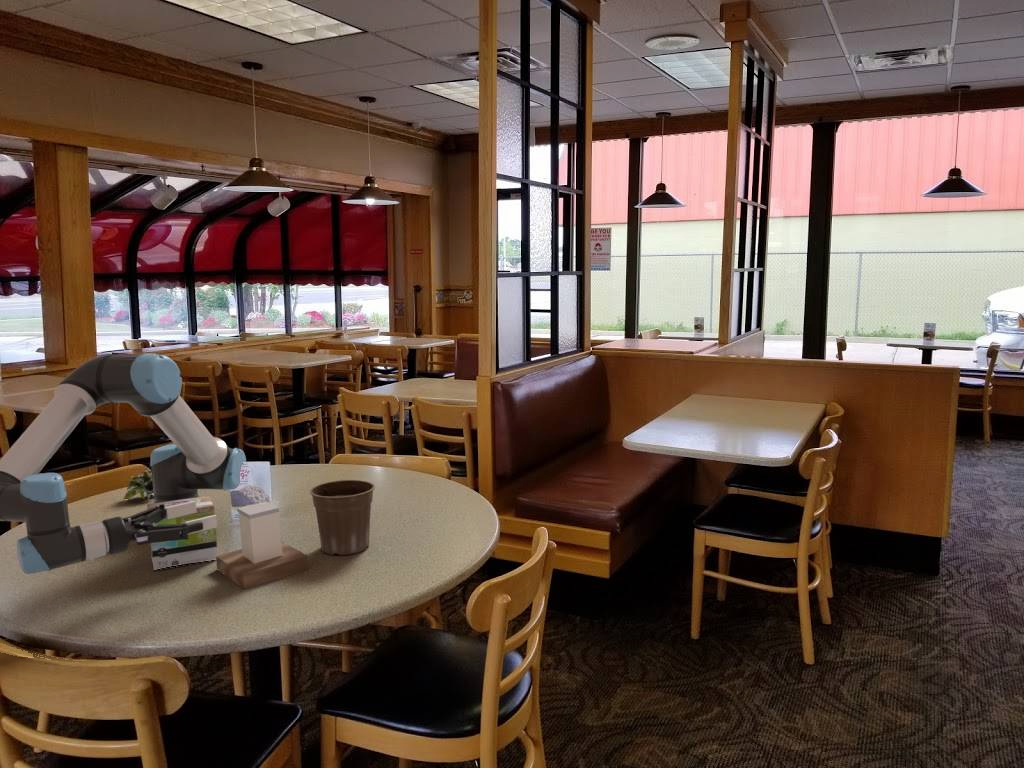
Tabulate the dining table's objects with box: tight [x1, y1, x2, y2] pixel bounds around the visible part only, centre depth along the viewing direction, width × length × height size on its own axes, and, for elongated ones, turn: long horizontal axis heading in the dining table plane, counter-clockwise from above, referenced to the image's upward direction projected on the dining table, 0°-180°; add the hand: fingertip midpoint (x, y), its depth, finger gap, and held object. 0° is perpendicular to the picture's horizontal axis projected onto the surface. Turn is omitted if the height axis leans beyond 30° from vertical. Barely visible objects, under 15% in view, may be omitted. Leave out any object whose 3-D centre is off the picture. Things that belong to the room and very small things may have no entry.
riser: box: [216, 540, 309, 589], centre depth 186 cm, size 16×16×4 cm
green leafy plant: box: [123, 469, 154, 500], centre depth 246 cm, size 11×11×12 cm
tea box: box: [146, 495, 218, 570], centre depth 193 cm, size 15×10×15 cm, turn 117°
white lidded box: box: [237, 501, 282, 564], centre depth 185 cm, size 7×7×12 cm
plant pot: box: [309, 479, 376, 556], centre depth 198 cm, size 16×16×16 cm
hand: (205, 513), depth 176 cm, fingers open, 13 cm apart
